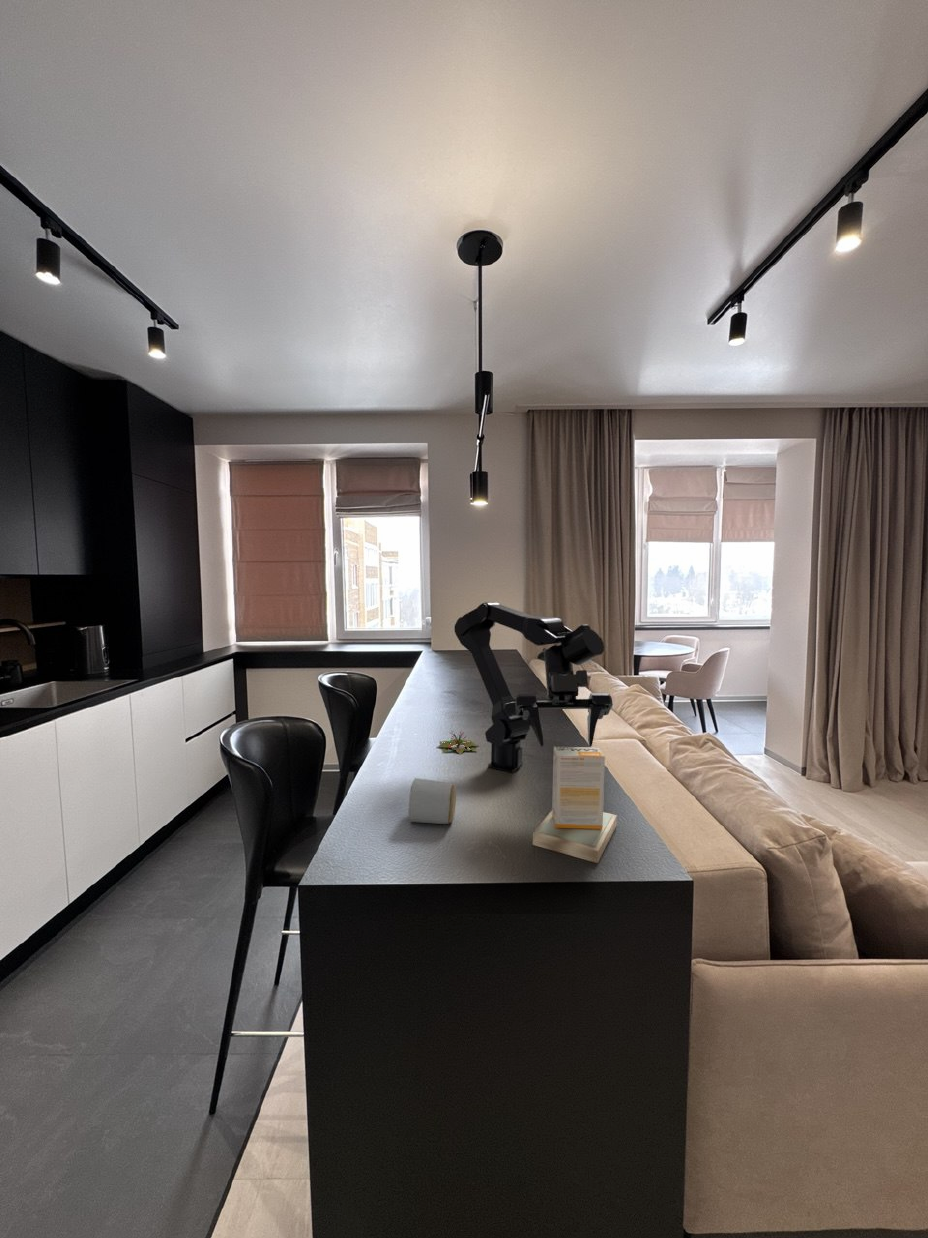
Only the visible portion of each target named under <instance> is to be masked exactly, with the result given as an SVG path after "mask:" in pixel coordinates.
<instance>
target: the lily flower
mask: <svg viewBox="0 0 928 1238" xmlns="http://www.w3.org/2000/svg"><path fill="white" fill-rule="evenodd" d="M449 734H450V735H452V736H451V737H450V740H443V741H439V742H440V743H441V744H439V745H438V746H436V748H443V749H442V754H444V753H450V752H452V750H456V751H455V752H457V753H458V754H459V755H462V753H463V752H464V751H466V752H471V751H470V750H468V749H467V748H465V747H469V748H470V749H471V750H473V751H472V752H477V750H476V748H475V747H478V746H480V745H479V744H476V743H474V742H473V740H472V741H471V739H468V740H467V739H466V738H467V735H465V736H464V734H465V731H463V732H462V730H461V731H460V732H459V733H458V734H457V735H456V734H455V733H454V732H453V730H451V732H449ZM463 736H464V737H463ZM462 737H463V738H462ZM467 741H470V742H467ZM442 742H443V743H442ZM444 742H445V743H444ZM463 742H466V743H463ZM450 743H451V744H450ZM456 744H458V745H456ZM453 745H456V747H453V748H452V747H451V746H453ZM459 745H464V746H465V747H463V748H462V747H460V746H459ZM473 746H475V747H473ZM459 747H460V748H459ZM448 748H450V749H452V750H448ZM447 751H448V752H447Z"/></svg>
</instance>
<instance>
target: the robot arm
mask: <svg viewBox="0 0 928 1238" xmlns="http://www.w3.org/2000/svg"><path fill="white" fill-rule="evenodd" d="M496 624H499V625H501V626H504V627H507V628H510V629H511V630H514V631H517V632H519V633H520V634H522V636H523V637H524V639H525V640H527V641H529V642H530V643H532V644H533V645H535V646H548V645H549V646H550V645H552V646H550V647H548V648H545V647H544V648H543V649H542V650H541V652H540V653H539V654H538V655H537V657H536V658H537V660H540V661H542V662H543V661H544V666H545V667H544V669H545V680H546V695H547V699H537V695H536V693H518V694H517V695H516V696H515V698H514V697H513V696H512V693H511V692H510V689H509V686H508V685H507V682H506V680H505V678H504V675H503V673H502V671H501V668H500V666H499V664H498V662H497V659H496V657H495V654H494V653H493V650H492V647H491V644H490V643H491V636H492V633H491V629H493V628H494V626H496ZM454 633H455V635H456V637H457V639H458V641H459V643H460V645H461V646H463V647H464V648H465V649H466V650H468V651H469V652H470V653H471V656H472V658H473V661H474V663H475V666H476V667H477V670H478V672H479V675H480V678H481V680H482V682H483V684H484V686H485V689H486V692H487V693H488V696H489V699H490V701H491V704H492V707H491V708H492V710H491V717H490V718H491V721H492V725H491V726H490V727H488V729H487V730H486V731H485V733H484V735H485V738H486V739H485V740H486V742H487V743H489V744H490V743H491V748H490V749H491V750H490V751H491V752H490V763H488V764H487V767H488V768H491V769H497V770H500V771H506V772H509V773H510V772H511V773H514V772H515V771H516V770H518V768H520V767H521V766H522V765H523V763H524V762H523V748H522V747H521V746H522V745H521V741H522V740H523V741H524V740H526V738H527V736H528V733H529V731H530V729H531V728H532V731H534V734H535V736H536V739H537V742H538V743H539V745H540V748H544V735H543V730H542V724H541V721H540V720H541V718H540V714H539V713H540V712H539V710H584V709H585V710H587V713H588V714H587V717H586V718H587V719H586V721H587V742H588V747H592V746H593V743H594V742H593V741H594V738H595V737H594V736H595V732H596V727H597V723H598V720H602V719H604V716H608V715H609V714H610V711H611V709H612V707H613V705H614V704H613V697H612V696H611V694H610V693H609V692H590V693H589V696H588V698H577V697H578V696H579V688H587V687H588V685H589V679H588V672H587V669H586V670H585V669H584V670H583V669H581V670H576V671H575V673H574V665H575V666H581V665H583V664H584V663H586V662H589V661H590V660H593V659H594V658H596V657H598V656H601V655H602V654H603V653H604V652H605V651H604V650H605V645H604V640H603V638H602V637H600V635H599V634H598V633H597V632H596V631H595V630H593V629H591V626H590V624H586V623H585V624H581V625H579V626H577V627H576V629H575V630H572V629H570V628H569V627H567V626H565V625H564V621H563V620H562V619H561V618H559V617H554V616H553V617H552V616H536V615H531V614H528V613H525V612H522V611H521V610H516V609H514V608H511V607H508V606H505V605H502V604H501V603H499V602H496V601H494V602H493V601H492V602H490V601H489V602H488V601H487V602H483V603H481V604H479V605H478V607H476V608H475V609H473V610H471V611H469V612H467V613H465V614H464V615H463V616H460V617H459V618H458V619H457V620H456V623H455V624H454ZM557 644H559V645H557ZM530 727H531V728H530Z"/></svg>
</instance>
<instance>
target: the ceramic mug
mask: <svg viewBox="0 0 928 1238" xmlns="http://www.w3.org/2000/svg"><path fill="white" fill-rule="evenodd" d="M408 799H409V800H408V811H407V812H408V813H407V815H408V820H409V822H411V823H422V824H423V823H424V824H425V823H426V824H437V825H447V824H451V823H452V822H453V821H454V819H455V818H454V817H455V814H456V813H455V812H456V806H457V805H456V804H457V787H456V784H453V783H450V782H448V781H447V782H446V781H441V780H439V781H438V780H431V779H425V778H417V777H416V778H414V779H413V780H412V783H411V786H410V793H409V798H408Z"/></svg>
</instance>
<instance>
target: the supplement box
mask: <svg viewBox="0 0 928 1238" xmlns="http://www.w3.org/2000/svg"><path fill="white" fill-rule="evenodd" d="M605 760H606V756H605V755H604V753H603V752H602V750H601V749H600V748H599V747H594V746H593V747H592V746H591V747H589V746H588V747H587V746H586V747H583V746H582V747H581V746H580V747H579V746H576V747H575V746H553V760H552V761H553V763H552V797H551V798H552V801H551V802H552V805H551V806H552V807H551V811H552V816H553V819H554V822H555V826H556V828H580V829H602V827H603V812H604V798H605V796H604V793H605V792H604V791H605V769H606V768H605V765H606V764H605V763H606V762H605Z"/></svg>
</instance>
